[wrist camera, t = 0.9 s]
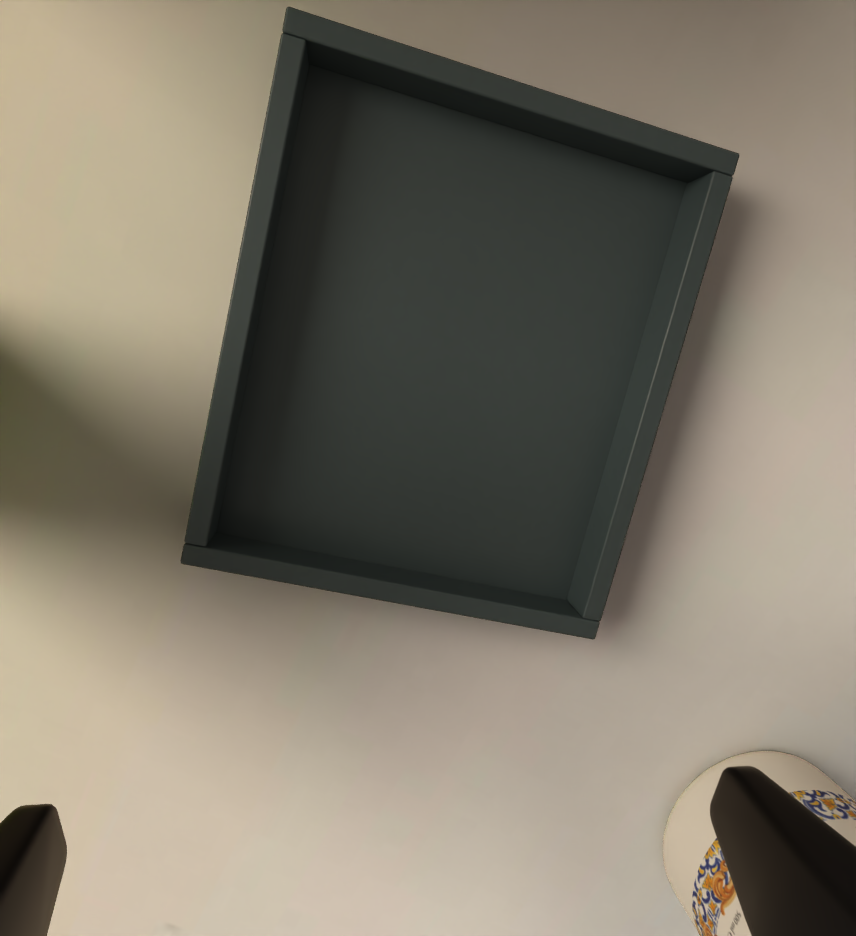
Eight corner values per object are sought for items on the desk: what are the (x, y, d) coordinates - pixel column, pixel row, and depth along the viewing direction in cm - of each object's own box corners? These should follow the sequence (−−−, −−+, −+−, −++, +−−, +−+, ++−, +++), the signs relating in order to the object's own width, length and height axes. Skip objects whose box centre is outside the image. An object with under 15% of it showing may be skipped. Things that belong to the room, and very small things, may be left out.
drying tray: (571, 612, 22) (595, 640, 20) (196, 541, 20) (179, 564, 18) (699, 173, 20) (740, 153, 18) (293, 43, 18) (286, 4, 16)
